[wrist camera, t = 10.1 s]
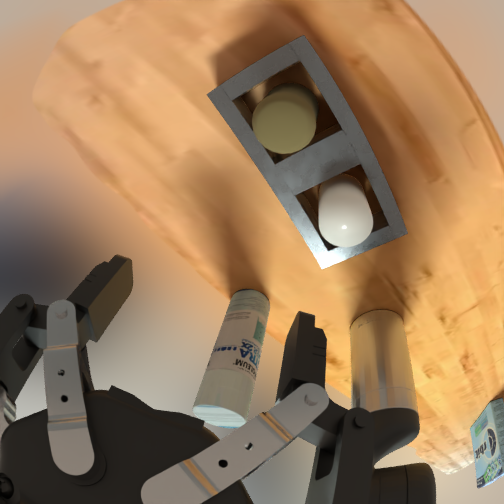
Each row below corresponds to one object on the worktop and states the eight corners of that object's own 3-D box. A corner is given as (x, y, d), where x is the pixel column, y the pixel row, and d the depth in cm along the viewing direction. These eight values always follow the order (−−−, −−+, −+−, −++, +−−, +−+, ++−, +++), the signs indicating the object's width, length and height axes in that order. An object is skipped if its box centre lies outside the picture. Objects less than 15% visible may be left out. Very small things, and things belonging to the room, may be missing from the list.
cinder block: (400, 217, 35) (408, 233, 32) (322, 250, 40) (322, 268, 37) (304, 39, 26) (303, 34, 23) (217, 91, 31) (206, 94, 28)
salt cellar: (371, 205, 35) (381, 234, 30) (331, 223, 38) (333, 254, 32) (351, 166, 33) (359, 189, 27) (309, 186, 36) (308, 212, 30)
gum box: (489, 401, 56) (502, 472, 37) (503, 396, 54) (517, 466, 36) (469, 428, 66) (476, 489, 47) (482, 425, 64) (489, 484, 46)
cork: (299, 72, 28) (293, 73, 19) (329, 118, 30) (336, 140, 22) (253, 100, 31) (227, 116, 22) (283, 143, 33) (271, 176, 24)
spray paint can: (276, 314, 48) (254, 429, 32) (240, 320, 51) (208, 427, 35) (262, 284, 45) (231, 405, 29) (223, 291, 48) (181, 403, 32)
